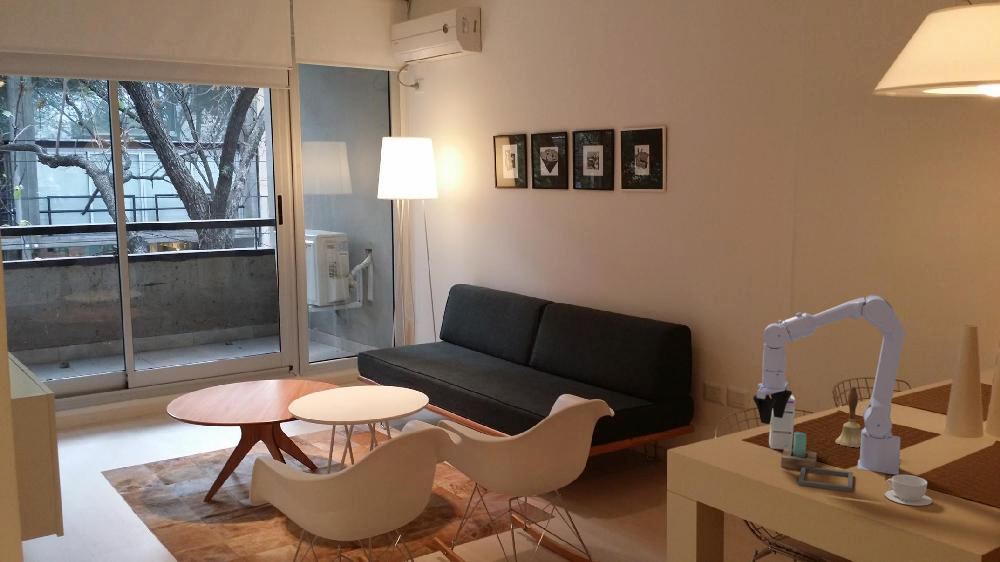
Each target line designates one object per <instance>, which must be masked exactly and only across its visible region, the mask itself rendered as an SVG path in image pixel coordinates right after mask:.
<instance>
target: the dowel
mask: <svg viewBox="0 0 1000 562" xmlns="http://www.w3.org/2000/svg"><path fill="white" fill-rule="evenodd" d="M792 449H793V456H795V457H803V458H805V454H806V451H807V450H806V449H807V433H806V432H801V431H796V432H793V445H792Z"/></svg>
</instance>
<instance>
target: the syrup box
mask: <svg viewBox="0 0 1000 562" xmlns="http://www.w3.org/2000/svg"><path fill="white" fill-rule="evenodd" d="M795 409H796V398H795V397H794V394H792V395H791V396H790V398H789V400H788V402H787V404H786V407H785V411H784V414H783V417H782V418H778V417H774V413H773V409H772V415H771V421H770V424H769V435H768V444H769V448H770V449H772V450H784V448H786V449H793V441H794V425H795Z"/></svg>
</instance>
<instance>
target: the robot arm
mask: <svg viewBox="0 0 1000 562" xmlns="http://www.w3.org/2000/svg"><path fill="white" fill-rule="evenodd" d="M862 317H864V320H865V321H866V322H867V323H869V324H871V325H873V327H876V328H877V330H878V331H879V332H880V333H881V334H882V342H881V346H880V347H881V348H880V351H879V358H878V364H877V367H876V372H875V378H874V381H873V382H874V383H873V388H872V394H871V396H870V399H869V403H868V406H866V408H865V409H864V410H863V414H862V418H863V421H864V428H862V429H861V447H860V448H859V449H860V450H859V459H858V460H857V469H858V470H861V471H862V470H863V471H868V472H869V471H870V472H876V473H877V472H880V473H883V474H888V475H893V476H895V475H900V471H899V470H900V466H901V458H900V456H901V455H900V453H901V436H897V435H893V433H892V429H893V423H892V420H891V413H892V399H893V395H894V390H895V385H896V380H897V375H898V370H899V364H900V359H901V355H902V350H903V344H904V339H905V329H904V328H903V325H902V323H901V321H900V320H899V316H898V315H897V314H896V311H895V309H894V308H893V306H892V304H891V303H890V302H889V301H887V300H886V298H885V297H883V296H881V295H880V294H869V295H868V296H866V297H865V298H864V296H863V297H859V298H855V299H853V300H852V299H851V300H849V301H846V302H843V303H841V304H838V305H836V306H834V307H830V308H829V309H826V310H823V311H821V312H818V313H816V314H810V313H808V312H804V313H802V312H797V313H795V316H793V317H790V318H787V319H784V320H783V319H779V320H777V322H778V323H777V322H774V323H770V324H768V325H767V326H766V327H765V328H764V331H763V334H762V339H763V342H764V343H763V346H762V347H763V352H762V365H761V366H762V367H761V368H762V369H761V370H762V371H761V373H762V374H761V383H758V384H757V388H758V390H756V394H755V395H753V399H752V400H753V401H754V404H755V406H756V408H757V410H758V415H759V419H760V423H761V424H764V425H770V421H771V415H772V409H773V413H774V417H778V418H782V417H783V414H784V411H785V407H786V404H787V402H788V400H789V398H790V396H791V395H793V391H792V390H788V389H789V384H790V382H789V381H786V358H787V357H786V351H785V350H786V343H787V342H794V341H797V340H799V339H803V338H805V337H808V336H811V335H814V334H815V333H816V331H817V328H819V327H823V326H825V325H829V324H832V323H835V322H838V321H842V320H844V319H849V318H850V319H853V320H858V321H862ZM770 396H771V397H770Z"/></svg>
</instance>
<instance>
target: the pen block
mask: <svg viewBox="0 0 1000 562" xmlns="http://www.w3.org/2000/svg"><path fill="white" fill-rule="evenodd" d="M817 453H818V452H817V451H811V450H806V454H805V458H803V457H795V456H793V448H792V449H786V448H784V449H783V451H782V455H781V462H780V463H781V464H780V467H781V468H787V469H796V470H801V468H802V466H807V467H815V468H816V465H817V455H818V454H817Z"/></svg>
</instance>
